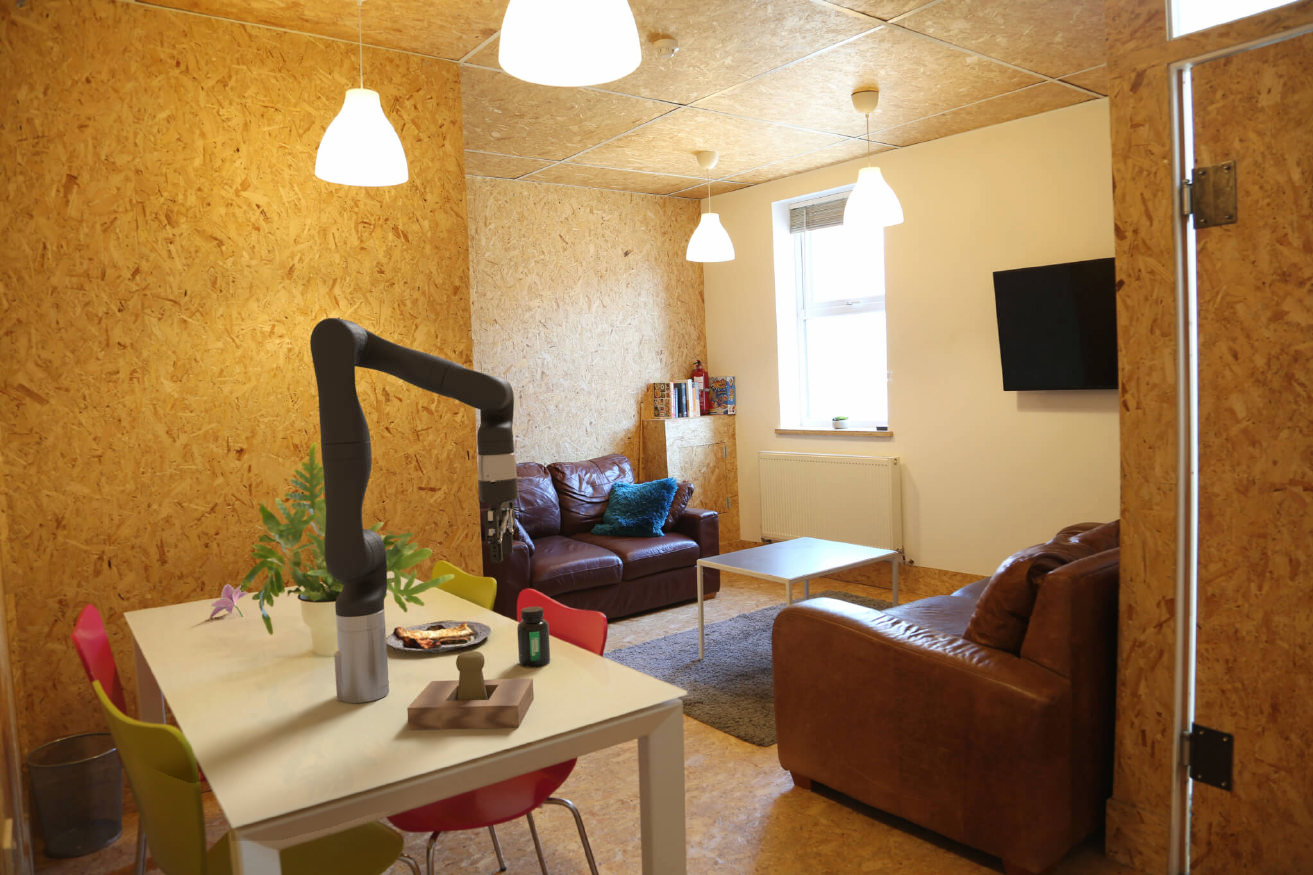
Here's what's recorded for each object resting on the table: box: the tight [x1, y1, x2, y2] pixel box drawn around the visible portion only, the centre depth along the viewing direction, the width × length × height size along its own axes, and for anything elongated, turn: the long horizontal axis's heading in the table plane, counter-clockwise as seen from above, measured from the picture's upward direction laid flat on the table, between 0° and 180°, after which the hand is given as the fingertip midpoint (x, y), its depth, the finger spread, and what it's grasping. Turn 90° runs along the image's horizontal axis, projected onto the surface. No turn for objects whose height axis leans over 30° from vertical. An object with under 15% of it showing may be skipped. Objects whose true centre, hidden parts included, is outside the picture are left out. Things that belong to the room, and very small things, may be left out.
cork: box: [455, 650, 488, 701], centre depth 159 cm, size 6×6×11 cm
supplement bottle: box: [516, 606, 551, 668], centre depth 188 cm, size 7×7×12 cm
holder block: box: [407, 678, 535, 731], centre depth 159 cm, size 20×14×4 cm
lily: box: [209, 583, 248, 619], centre depth 241 cm, size 12×12×10 cm
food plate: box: [386, 620, 492, 654], centre depth 207 cm, size 25×23×4 cm
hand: (502, 557), depth 170 cm, fingers open, 8 cm apart
